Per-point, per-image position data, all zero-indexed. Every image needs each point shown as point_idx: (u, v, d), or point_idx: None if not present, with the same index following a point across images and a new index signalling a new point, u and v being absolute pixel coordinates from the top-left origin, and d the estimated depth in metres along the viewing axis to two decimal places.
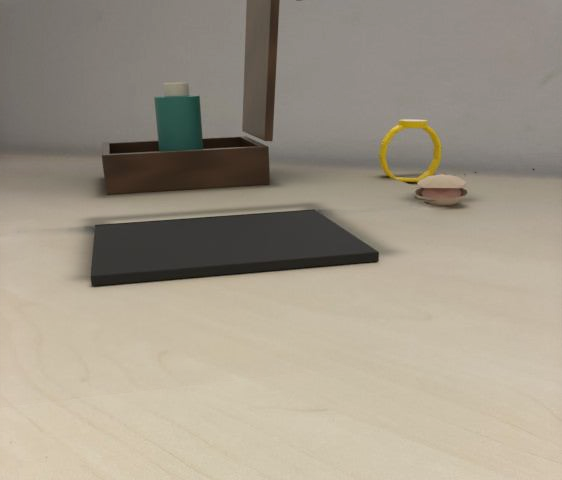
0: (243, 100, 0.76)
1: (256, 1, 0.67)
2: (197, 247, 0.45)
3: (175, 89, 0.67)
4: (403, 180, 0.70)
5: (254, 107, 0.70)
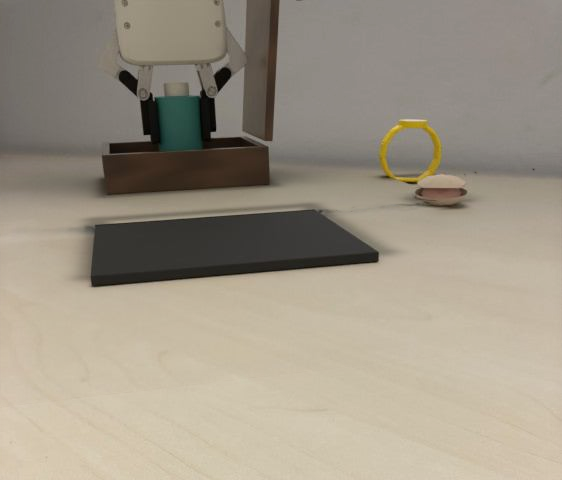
0: (243, 100, 0.76)
1: (256, 1, 0.67)
2: (197, 247, 0.45)
3: (175, 89, 0.67)
4: (403, 180, 0.70)
5: (254, 107, 0.70)
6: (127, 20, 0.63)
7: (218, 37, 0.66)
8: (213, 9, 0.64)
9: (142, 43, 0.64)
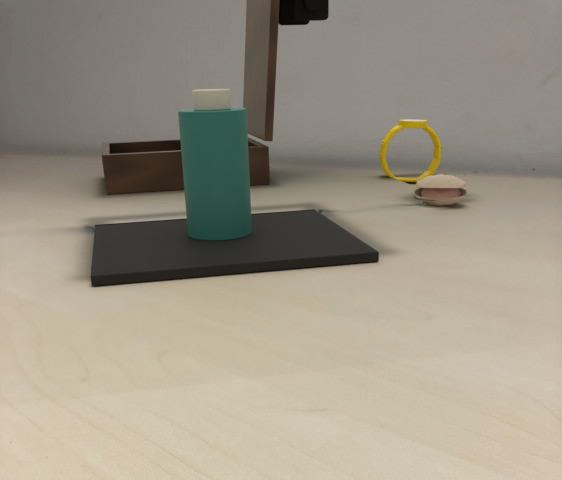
0: (243, 100, 0.76)
1: (256, 1, 0.67)
2: (197, 247, 0.45)
3: (211, 99, 0.44)
4: (403, 180, 0.70)
5: (254, 107, 0.70)
6: None
7: None
8: None
9: None
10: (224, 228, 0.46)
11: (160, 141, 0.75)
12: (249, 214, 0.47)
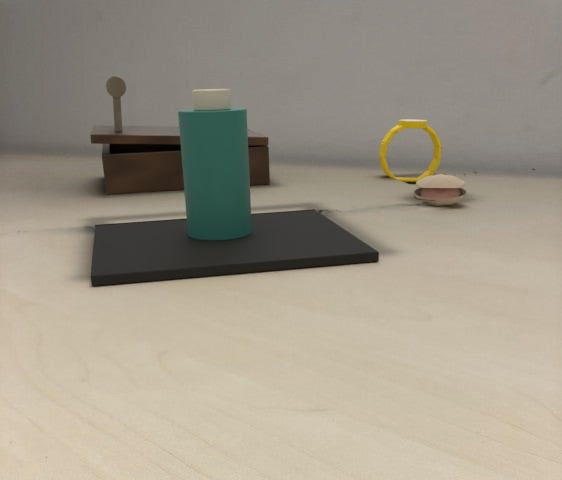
0: None
1: None
2: (197, 247, 0.45)
3: (211, 99, 0.44)
4: (403, 180, 0.70)
5: None
6: None
7: None
8: None
9: None
10: (224, 228, 0.46)
11: None
12: (249, 214, 0.47)
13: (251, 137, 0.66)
